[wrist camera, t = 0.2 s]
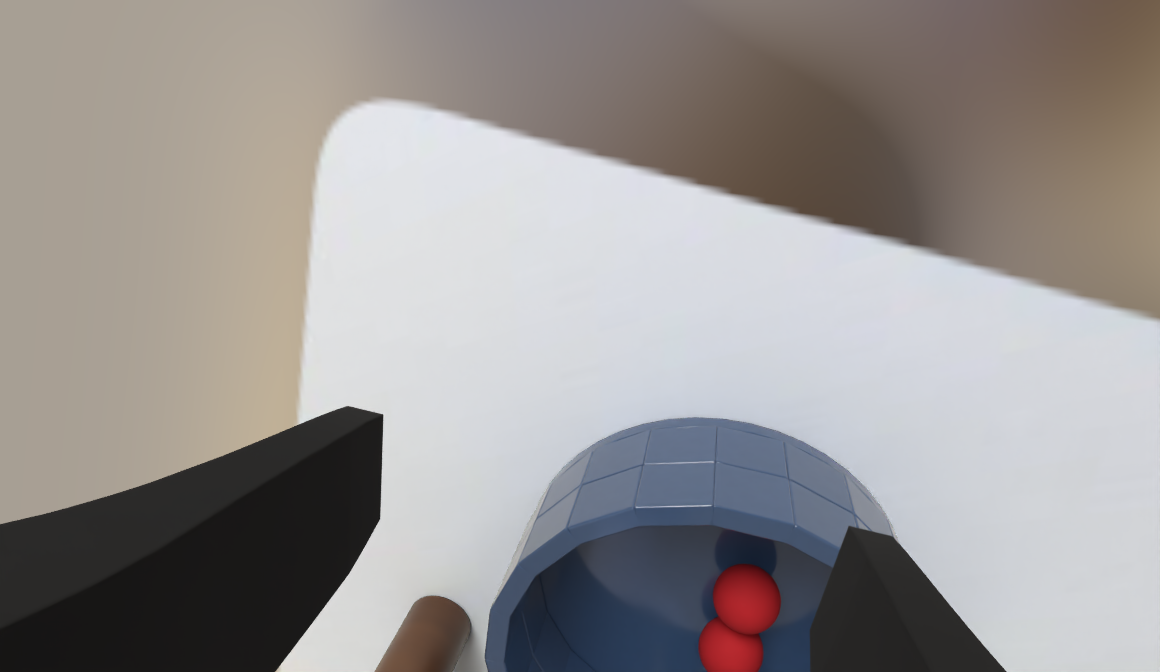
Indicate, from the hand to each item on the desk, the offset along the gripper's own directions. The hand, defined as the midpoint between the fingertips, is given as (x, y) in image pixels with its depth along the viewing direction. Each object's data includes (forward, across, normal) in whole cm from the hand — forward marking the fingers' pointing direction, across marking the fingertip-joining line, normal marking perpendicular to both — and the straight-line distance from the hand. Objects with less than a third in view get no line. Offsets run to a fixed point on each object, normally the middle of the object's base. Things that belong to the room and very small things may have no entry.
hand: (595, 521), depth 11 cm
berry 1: (+8, -4, +8) cm, 12 cm away
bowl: (+10, -3, +9) cm, 14 cm away
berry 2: (+8, -4, +10) cm, 14 cm away
